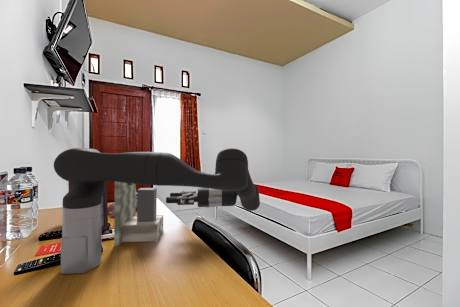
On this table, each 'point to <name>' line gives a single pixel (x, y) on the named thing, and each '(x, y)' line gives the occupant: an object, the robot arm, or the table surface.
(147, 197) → the dark grey block
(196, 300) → the table surface
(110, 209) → the video game controller
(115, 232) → the wall shelf
